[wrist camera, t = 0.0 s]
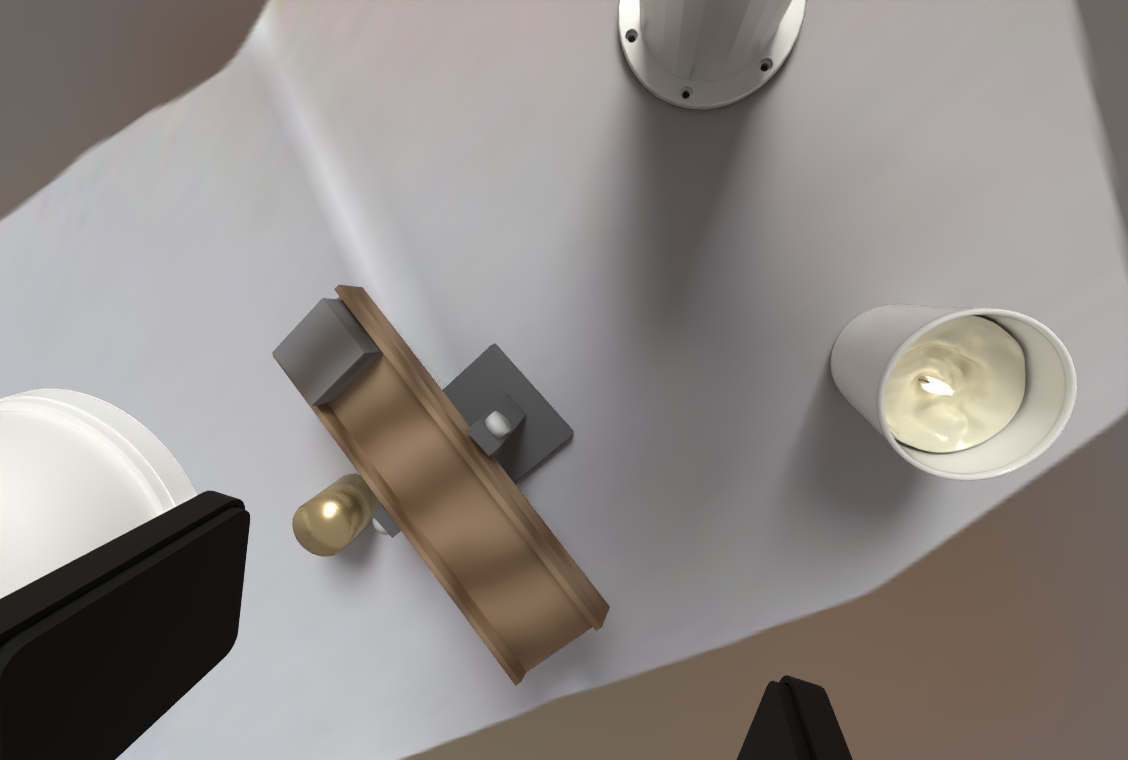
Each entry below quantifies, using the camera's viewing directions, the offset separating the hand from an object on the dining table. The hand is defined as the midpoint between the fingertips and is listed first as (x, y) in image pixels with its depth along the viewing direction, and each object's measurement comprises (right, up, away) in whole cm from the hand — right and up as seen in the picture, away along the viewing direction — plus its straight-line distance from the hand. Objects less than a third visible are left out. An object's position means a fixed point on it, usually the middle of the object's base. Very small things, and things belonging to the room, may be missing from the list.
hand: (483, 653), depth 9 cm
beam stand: (-7, -1, +39) cm, 40 cm away
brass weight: (-18, -7, +43) cm, 47 cm away
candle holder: (+26, +6, +33) cm, 42 cm away
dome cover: (-49, -11, +49) cm, 70 cm away
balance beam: (-8, -2, +32) cm, 33 cm away
